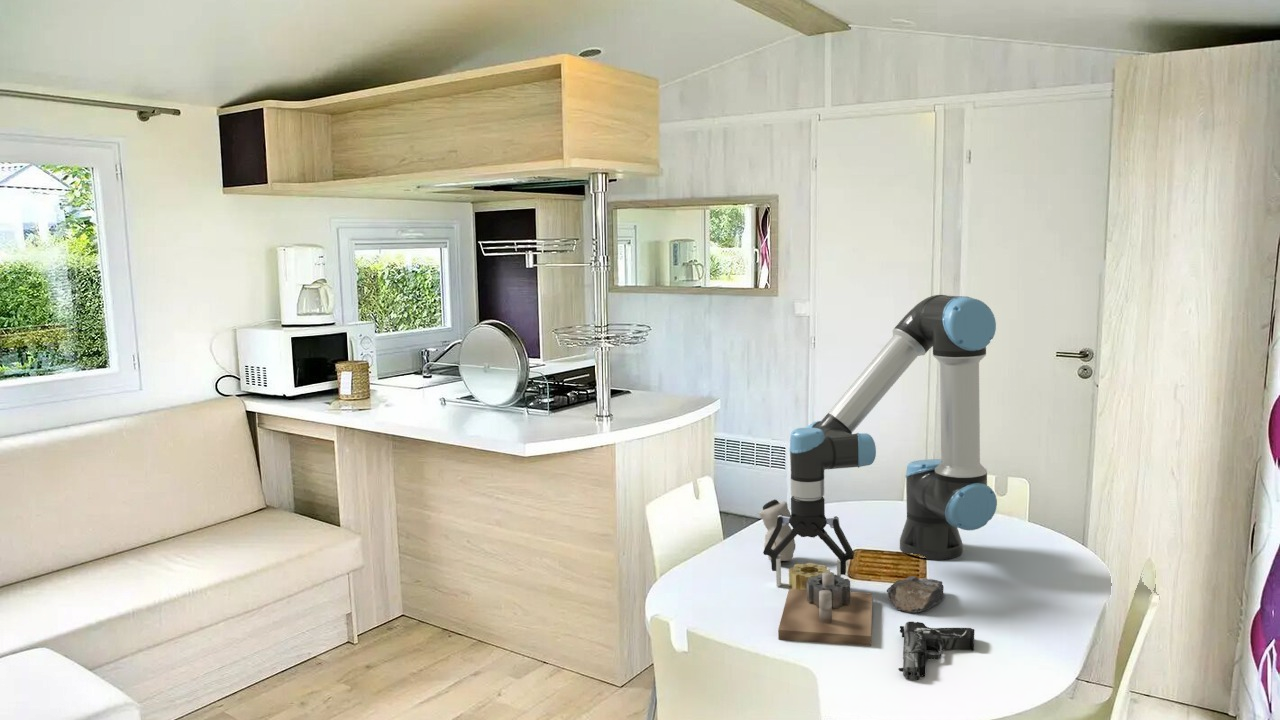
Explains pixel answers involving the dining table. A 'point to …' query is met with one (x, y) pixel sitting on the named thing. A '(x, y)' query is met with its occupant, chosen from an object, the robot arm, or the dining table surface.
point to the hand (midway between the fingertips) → (808, 586)
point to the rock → (915, 594)
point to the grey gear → (838, 590)
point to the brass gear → (804, 574)
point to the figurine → (770, 522)
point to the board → (827, 632)
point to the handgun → (930, 645)
